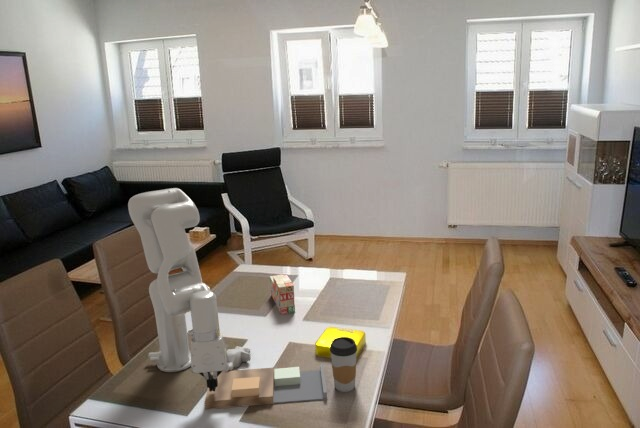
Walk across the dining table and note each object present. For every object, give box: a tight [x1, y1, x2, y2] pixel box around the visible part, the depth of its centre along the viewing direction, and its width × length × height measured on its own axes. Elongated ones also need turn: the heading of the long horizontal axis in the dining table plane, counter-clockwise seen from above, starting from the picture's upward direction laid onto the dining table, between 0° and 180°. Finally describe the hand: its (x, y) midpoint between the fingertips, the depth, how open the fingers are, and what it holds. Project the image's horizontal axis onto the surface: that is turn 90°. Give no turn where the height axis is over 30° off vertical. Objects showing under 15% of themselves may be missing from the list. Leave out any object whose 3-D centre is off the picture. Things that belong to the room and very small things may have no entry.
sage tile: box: [274, 366, 301, 386], centre depth 165 cm, size 8×6×2 cm
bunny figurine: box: [226, 345, 252, 371], centre depth 176 cm, size 10×5×15 cm
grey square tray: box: [272, 363, 328, 405], centre depth 162 cm, size 16×16×2 cm
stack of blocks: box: [269, 274, 296, 315], centre depth 222 cm, size 21×6×12 cm, turn 16°
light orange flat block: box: [232, 377, 260, 397], centre depth 156 cm, size 8×6×2 cm
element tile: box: [314, 326, 367, 360], centre depth 184 cm, size 15×15×5 cm
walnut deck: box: [204, 367, 275, 410], centre depth 161 cm, size 20×16×2 cm
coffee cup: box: [330, 337, 357, 393], centre depth 159 cm, size 8×8×15 cm
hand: (212, 388), depth 156 cm, fingers closed
